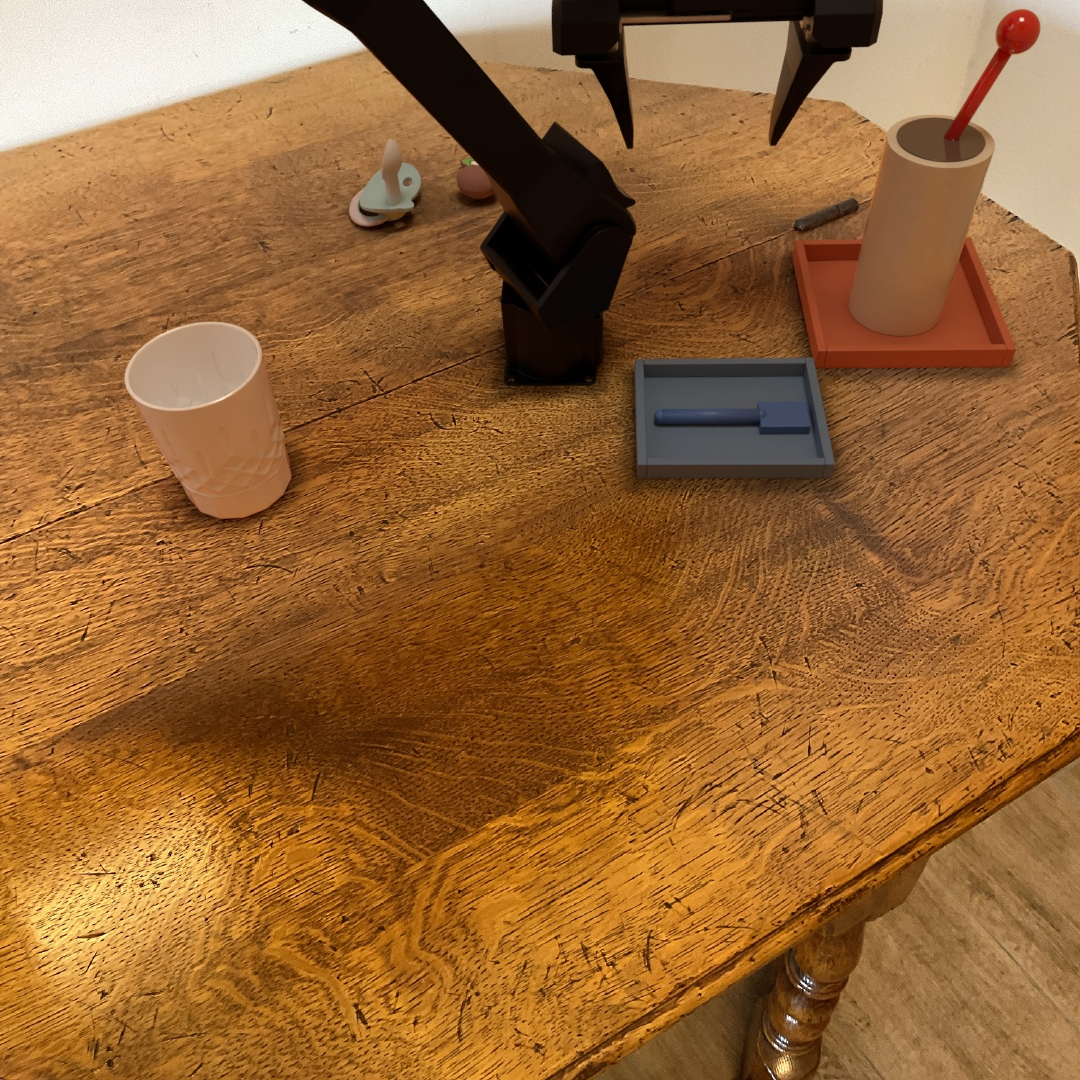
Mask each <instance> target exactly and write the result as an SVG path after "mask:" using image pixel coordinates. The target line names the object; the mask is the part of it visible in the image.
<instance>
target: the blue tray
mask: <svg viewBox="0 0 1080 1080" xmlns="http://www.w3.org/2000/svg"><path fill="white" fill-rule="evenodd" d="M633 372H634V374H633V375H634V411H635V413H634V414H635V416H634V417H635V450H636V451H635V452H636V479H832V477H833V473H834V470H835V467H836V461H835V456H834V452H833V451H834V450H833V447H832V441H831V437H830V433H829V432H830V431H829V428H828V422H827V418H826V417H827V416H826V413H825V407H824V404H823V398H822V393H821V392H822V391H821V388H820V382H819V378H818V373H817V368H815V363H814V358H812V357H732V358H731V357H723V358H721V357H718V358H717V357H716V358H715V357H714V358H713V357H712V358H701V357H700V358H644V359H643V358H634V369H633ZM758 402H806V403H807V408H808V414H809V419H810V424H811V428H810V433H809V434H760V430H759V424H658V423H657V422H656V421H655V420H654V414H655V412H656V411H657V410H659V409H757V404H758Z"/></svg>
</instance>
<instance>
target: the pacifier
mask: <svg viewBox="0 0 1080 1080" xmlns="http://www.w3.org/2000/svg"><path fill="white" fill-rule="evenodd" d="M382 156H383V157H382V164H381V168H380V169H379V170H378V171H377V172H375V173H374V174H373V175H372V176H371V178H370V179H369V180H368V182H367V183H366V185H365V187H363V188H362V189H361V190H359V191H358V192H357V193H356V194H355V195H354V196H353V197H352V199H351V201H350V203H349V207H348V215H349V217H350V219H351V220H352V222H354V223H355V224H356V225H359V226H361V227H375V226H378V225H381V224H384V223H385V222H391V221H397V220H399V219H402V218H403V217H404V216H405V215H406V213H409V212H412V211H413V210H414V209H415V203H414V202H413V201H414V200H415V199H416V198H417V196H418V195H419V194H420V192H421V187H422V178H421V175H420V172H419V171H418V170H417V168H416V167H415V166H414V165H412V164H411V163H408V162H403V152H402V148H401V146H400V145H399V143H398V142H397V141H396V140H394V139H392V138H389V139H388V138H387V141H386V144H385V147H384V151H383V155H382ZM407 181H411V184H409V185H405V183H406V182H407ZM360 209H362V210H364V211H366V212H369V213H375V214H378V215H373V216H369V215H364V214H363V213H361V212H360Z"/></svg>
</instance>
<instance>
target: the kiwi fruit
mask: <svg viewBox="0 0 1080 1080" xmlns="http://www.w3.org/2000/svg"><path fill="white" fill-rule="evenodd" d="M459 163H460V167H461V169H460V170H459V171H458V173H457V175H456V184H457V188H458V189H459V190H460V192H461V193H462V194H463V195H465V196H466V197H468V198H472V199H474V200H483V199H486V198H488V197H491V196H492V195H493V194H495V193H494V190H493V188H492V185H491V183H490V180H489V178H488V176H487V175H486V173H485V172H484V170H483V169H482V168H481V167H480V166H479V165H478V164H477V163H476V162H475V161H474V160H473V159H472V158H471V157H462V158H461V159H460V160H459Z"/></svg>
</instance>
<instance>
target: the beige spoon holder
mask: <svg viewBox="0 0 1080 1080" xmlns="http://www.w3.org/2000/svg"><path fill="white" fill-rule="evenodd" d="M1040 34H1041V20H1040V19H1039V17H1038V15H1037V14H1036V13H1035V12H1034V11H1032V10H1030V9H1026V8H1020V9H1015V10H1011V11H1010V12H1009V13H1007V14H1006V15H1005V16H1003V17H1002V18H1001V20H1000V21H999V23H998V24H997V27H996V29H995V35H994V39H995V43H996V46H997V50H996V51H995V53H994V54H993V55H992V57H991V59H990V60H989V62H988V64H987V66H986V67H985V69H984V70H983V72H982V73H981V75H980V77H979V78H978V79H977V82H976V83H975V84H974V86H973V88H972V90H971V91H970V93H969V94H968V96H967V97H966V99H965V101H964V103H963V104H962V105H961V107H960V109H959V111H958V112H957V114H956V115H955V116H951V115H943V114H922V115H913V116H909V117H907V118H903V119H901V120H898V121H897V122H895V123H894V124H892V126H890V127H889V129H888V131H887V132H886V135H885V140H884V144H883V148H882V153H881V158H880V161H879V166H878V171H877V175H876V179H875V183H874V187H873V192H872V196H871V200H870V205H869V208H868V209H869V210H868V214H867V218H866V222H865V226H864V231H863V235H862V238H861V239H862V243H861V248H860V252H859V256H858V261H857V265H856V269H855V274H854V278H853V282H852V287H851V291H850V295H849V300H848V308H849V311H850V313H851V315H852V316H853V318H854V319H855V320H856V321H857V322H859V323H860V324H861V325H863V326H864V327H866V328H868V329H870V330H872V331H875V332H878V333H881V334H885V335H891V336H913V335H918V334H921V333H924V332H926V331H928V330H930V329H932V328H933V327H934V326H935V325H936V324H937V323H938V322H939V320H940V317H941V314H942V311H943V308H944V305H945V302H946V299H947V296H948V293H949V289H950V286H951V283H952V280H953V277H954V274H955V271H956V268H957V265H958V262H959V258H960V255H961V252H962V249H963V246H964V243H965V240H966V238H968V237H967V236H968V233H969V230H970V227H971V225H972V221H973V218H974V216H975V212H976V209H977V205H978V202H979V199H980V196H981V194H982V190H983V187H984V184H985V181H986V177H987V174H988V171H989V168H990V165H991V162H992V159H993V156H994V153H995V150H996V142H995V140H994V137H993V136H992V135H991V133H989V132H988V131H987V130H986V129H985V128H984V127H982V126H981V125H978V124H976V123H975V122H973V121H972V119H973V117H974V116H975V115H976V113H977V111H978V109H979V108H980V106H981V105H982V103H983V102H984V100H985V98H986V97H987V95H988V93H989V92H990V91H991V89H992V87H993V86H994V84H995V82H996V81H997V79H998V78H999V76H1000V74H1001V73H1002V71H1003V69H1004V68H1005V67H1006V65H1007V64H1008V62H1009V60H1010V59H1011V57H1012V56H1018V55H1021V54H1024V53H1026V52H1028V51H1029V50H1030V49H1032V48H1033V47H1034V45H1035V44H1036V43H1037V42H1038V39H1039V37H1040Z"/></svg>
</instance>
